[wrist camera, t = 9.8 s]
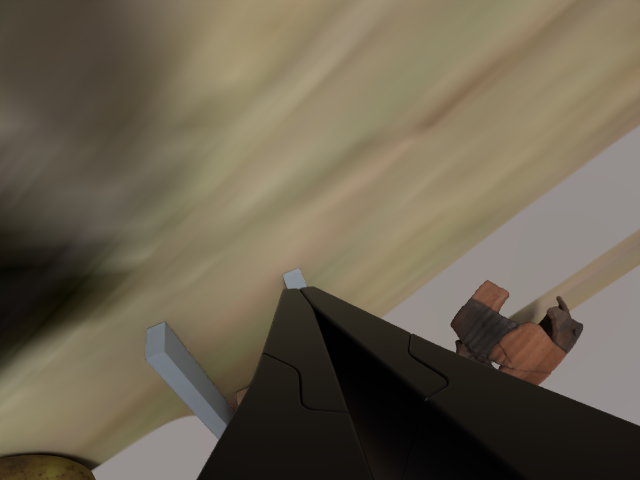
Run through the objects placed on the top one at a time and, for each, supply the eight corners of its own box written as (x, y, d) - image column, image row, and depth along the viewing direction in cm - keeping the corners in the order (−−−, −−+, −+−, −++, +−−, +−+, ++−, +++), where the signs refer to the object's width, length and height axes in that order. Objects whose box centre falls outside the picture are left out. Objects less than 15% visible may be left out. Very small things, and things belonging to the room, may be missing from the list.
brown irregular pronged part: (506, 248, 33) (606, 311, 29) (496, 273, 41) (573, 324, 38) (417, 359, 32) (507, 437, 29) (425, 361, 41) (496, 421, 37)
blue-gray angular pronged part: (147, 328, 25) (140, 429, 20) (299, 267, 26) (332, 347, 21) (246, 447, 37) (259, 531, 31) (349, 401, 38) (379, 475, 32)
